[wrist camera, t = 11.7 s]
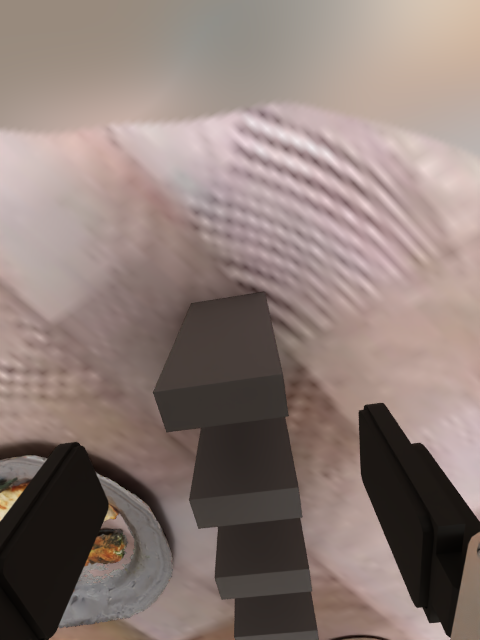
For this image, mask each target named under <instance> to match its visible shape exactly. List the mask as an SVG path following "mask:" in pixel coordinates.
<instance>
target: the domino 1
mask: <svg viewBox="0 0 480 640" xmlns="http://www.w3.org/2000/svg"><path fill="white" fill-rule="evenodd" d="M153 394H154V397H155V400H156V403H157V405H158V408H159V411H160V414H161V417H162V420H163V423H164V426H165V429H166V432H173V431H181V430H188V429H196V428H204V427H211V426H219V425H226V424H234V423H241V422H249V421H257V420H264V419H272V418H279V417H287V416H288V408H287V401H286V394H285V387H284V380H283V373H282V368H281V364H280V359H279V355H278V350H277V345H276V341H275V336H274V332H273V327H272V322H271V318H270V313H269V309H268V304H267V300H266V295H265V292H260V293H253V294H247V295H241V296H235V297H229V298H222V299H216V300H210V301H204V302H197V303H191V306H190V308H189V310H188V313H187V315H186V317H185V320H184V322H183V324H182V327H181V329H180V331H179V333H178V336H177V338H176V340H175V343H174V345H173V347H172V350H171V352H170V354H169V357H168V359H167V361H166V363H165V366H164V368H163V370H162V373H161V375H160V377H159V380H158V382H157V384H156V386H155V389H154V391H153Z"/></svg>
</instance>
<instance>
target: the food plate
mask: <svg viewBox="0 0 480 640" xmlns="http://www.w3.org/2000/svg"><path fill="white" fill-rule="evenodd" d="M46 460H47V458H42V457H39V456H36V455H31V456H30V455H25V456H21V458H20V457H16V458H15V457H14V458H13V457H12V458H7V459H3V460H0V521H1V520H2V519H3V517H4V516H5V515H6V513H7V512H8V511H9V509H10V508H11V507H12V505H13V504H14V503H15V501H16V500H17V499H18V497H19V496H20V495H21V493H22V492H23V491H24V489H25V488H26V487H27V485H28V484H29V483H30V481H31V480H32V479H33V477H34V476H35V475H36V473H37V472H38V471H39V469H40V468H41V467H42V465H43V464H44V463H45V461H46ZM96 474H97V477H98V479H99V481H100V483H101V486H102V488H103V490H104V492H105V495H106V497H107V499H108V503H109V508H108V512H107V515H106V517H105V519H104V521H106V520H108V519H116V516H117V515H118V514H119V513H120V514H121V516H122V517H123V519H124V521H125V523H126V524H127V526H128V529H129V530H130V532H131V535H132V536H133V538H134V540H135V542H134V546H135V549H133V552H134V555H131V557H130V558H131V562H130V563H129V564H126V565H124V564H123V567H124V569H122V570H119V569H118V570H115V571H114V570H113V571H112V572H111V573H110V574H109V575H114V576H113V577H110V576H108V575H107V574H105V575H104V576H108V577H106V578H104V579H101V578H102V577H103V576H101V577H100V576H97V577H92V576H93V575H92V574H91V573H90V572H89V571H87V570H93V569H98V570H107V569H108V568H104V566H105V564H108V563H110V564H111V563H116V562H118V561H120V560H121V558H123V556H124V554H126V552H125V551H124V549H125V548H126V546H127V544H128V542H127V539H126V536H125V535H123V532H122V531H121V530H119V529H117V530H113V529H111V530H100V531H99V533H98V536H97V538H96V540H95V543H94V545H93V547H92V549H91V552H90V554H89V556H88V559H87V561H86V563H85V566H84V568H83V570H82V573H81V575H80V577H79V580H81V581H78V582H77V584H76V587H75V589H74V591H73V594H72V596H71V598H70V600H69V603H68V605H67V607H66V610H65V612H64V614H63V617H62V619H61V621H60V624H59V626H58V627H60V628H62V627H64V626H66V627H67V628H68V627H70V626H71V627H72V626H75V627H76V626H78V625H79V626H80V625H83V624H84V625H86V624H87V625H88V624H93V623H94V624H95V622H97V623H99V622H101V621H102V622H105V621H106V622H107V621H111V620H116V619H117V618H120V619H123V618H130V617H131V616H133V615H135V614H138V613H139V612H141V611H144V610H145V609H147V608H148V607H150V606H151V605H152V604H153V603H154V602H155V601H156V600H157V599H158V597H159V596H160V595H161V594H162V592H163V590H164V589H165V587H166V586H167V584H168V582H169V581H170V580H169V579H170V578H171V577H172V576H171V574H172V570H173V569H172V565H173V563H172V558H173V557H172V553H171V549H170V548H169V544H168V542H167V538H166V540H165V536H166V535H165V536H164V533H163V532H162V530H163V529H161V526H160V524H159V523H158V521H156V520H155V519H156V517H155V516H154V514H153V513H152V511H151V509H150V507H149V506H148V505H147V504H146V503H145V502H144V501H142V500H141V499H139V497H136V495H134V494H131V492H130V491H128V490H125V488H122V487H121V486H119V484H117V483H115V482H113V481H112V480H110V479H109V478H107V477H104V476H101V475H100V474H98V473H97V472H96ZM125 560H127V559H126V558H125ZM98 563H103V564H104V565H103V566H101V565H100V566H96V565H97V564H98ZM118 563H119V562H118ZM107 566H109V565H107ZM83 571H85V572H83ZM83 575H89V576H88V577H84V576H83ZM81 577H82V578H81ZM88 578H91V579H92V580H90V579H88ZM95 579H98V580H95ZM93 581H94V582H98V581H101V582H99V583H93ZM87 582H88V583H87ZM90 584H92V585H90ZM117 620H118V619H117Z"/></svg>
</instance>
